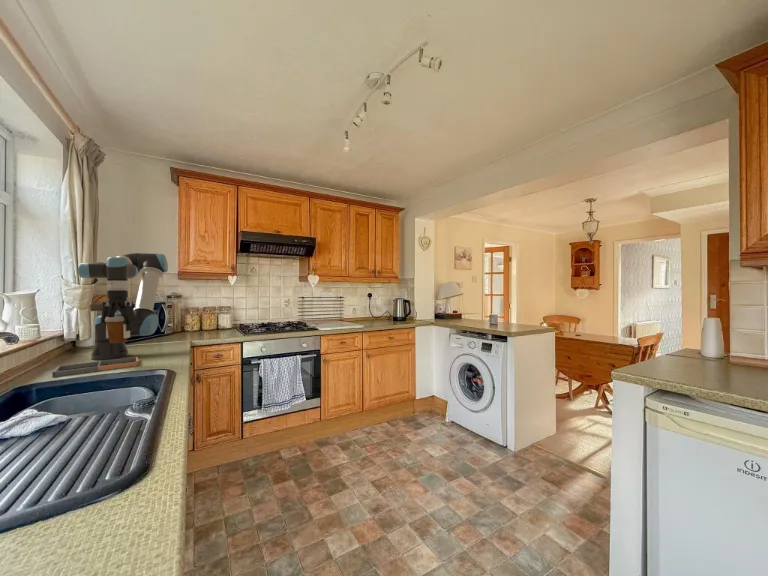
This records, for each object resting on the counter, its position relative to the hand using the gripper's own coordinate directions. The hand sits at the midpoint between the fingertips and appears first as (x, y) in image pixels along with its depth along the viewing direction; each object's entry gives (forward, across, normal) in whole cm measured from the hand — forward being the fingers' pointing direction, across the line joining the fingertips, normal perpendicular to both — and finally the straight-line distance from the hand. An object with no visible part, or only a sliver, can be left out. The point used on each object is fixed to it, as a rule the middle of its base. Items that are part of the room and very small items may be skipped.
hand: (118, 337), depth 151 cm
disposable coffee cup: (+2, 0, 0) cm, 2 cm away
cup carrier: (+13, -5, -5) cm, 15 cm away
